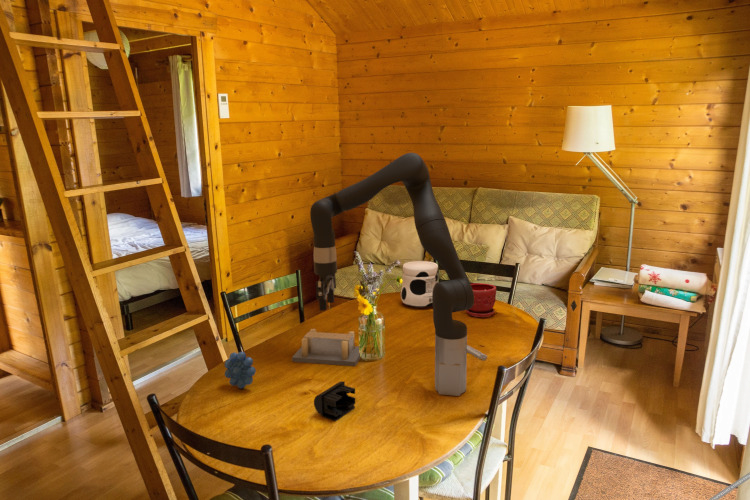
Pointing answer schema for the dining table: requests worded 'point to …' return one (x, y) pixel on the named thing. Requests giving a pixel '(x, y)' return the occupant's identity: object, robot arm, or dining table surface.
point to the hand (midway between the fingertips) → (327, 306)
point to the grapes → (239, 369)
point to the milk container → (419, 283)
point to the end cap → (335, 401)
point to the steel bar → (328, 343)
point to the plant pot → (483, 300)
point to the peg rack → (328, 359)
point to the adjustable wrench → (476, 353)
